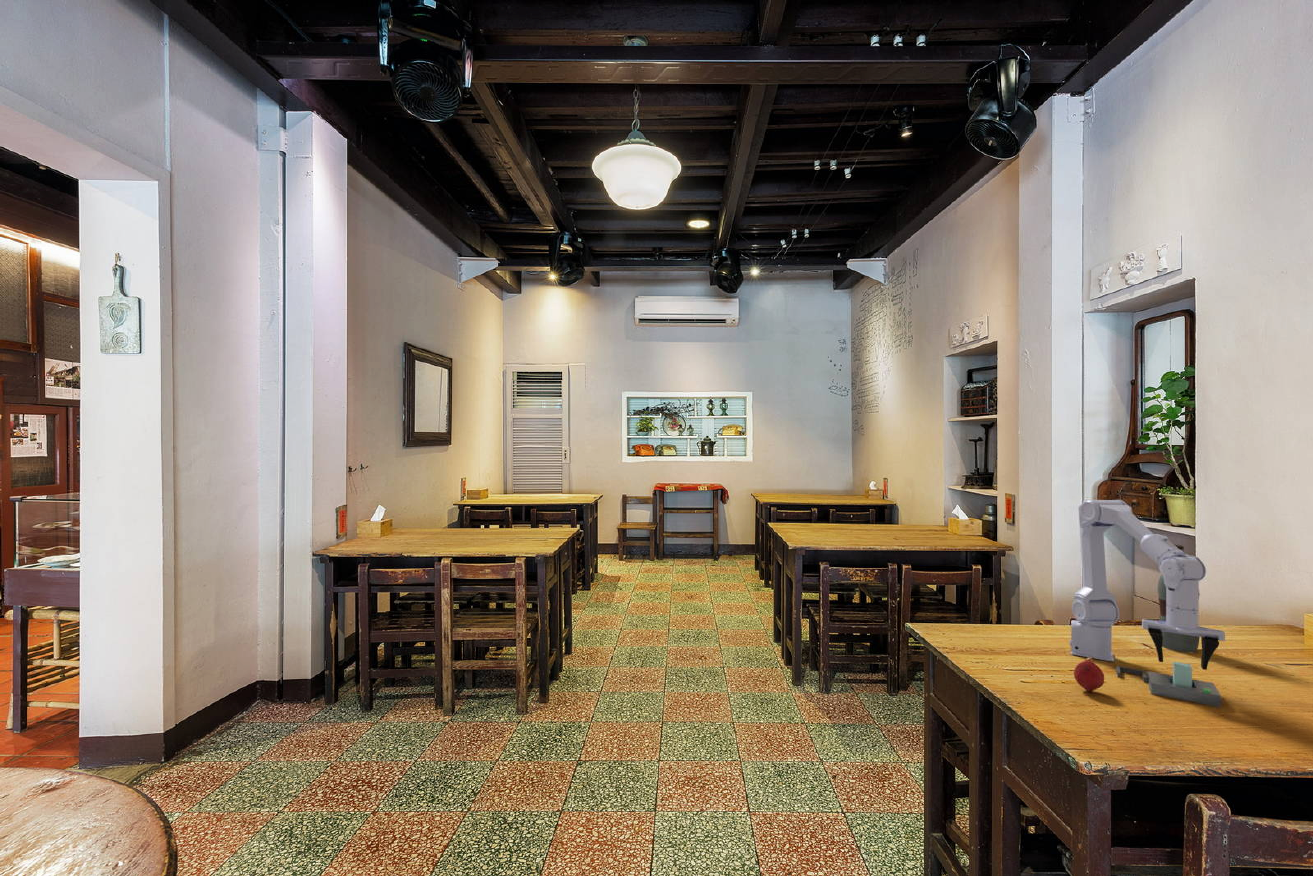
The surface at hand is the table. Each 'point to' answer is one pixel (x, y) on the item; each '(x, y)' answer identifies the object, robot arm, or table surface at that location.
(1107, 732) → the table surface
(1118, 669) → the holster
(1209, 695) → the port panel
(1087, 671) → the onion
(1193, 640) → the bottle
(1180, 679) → the plug
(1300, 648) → the table surface
